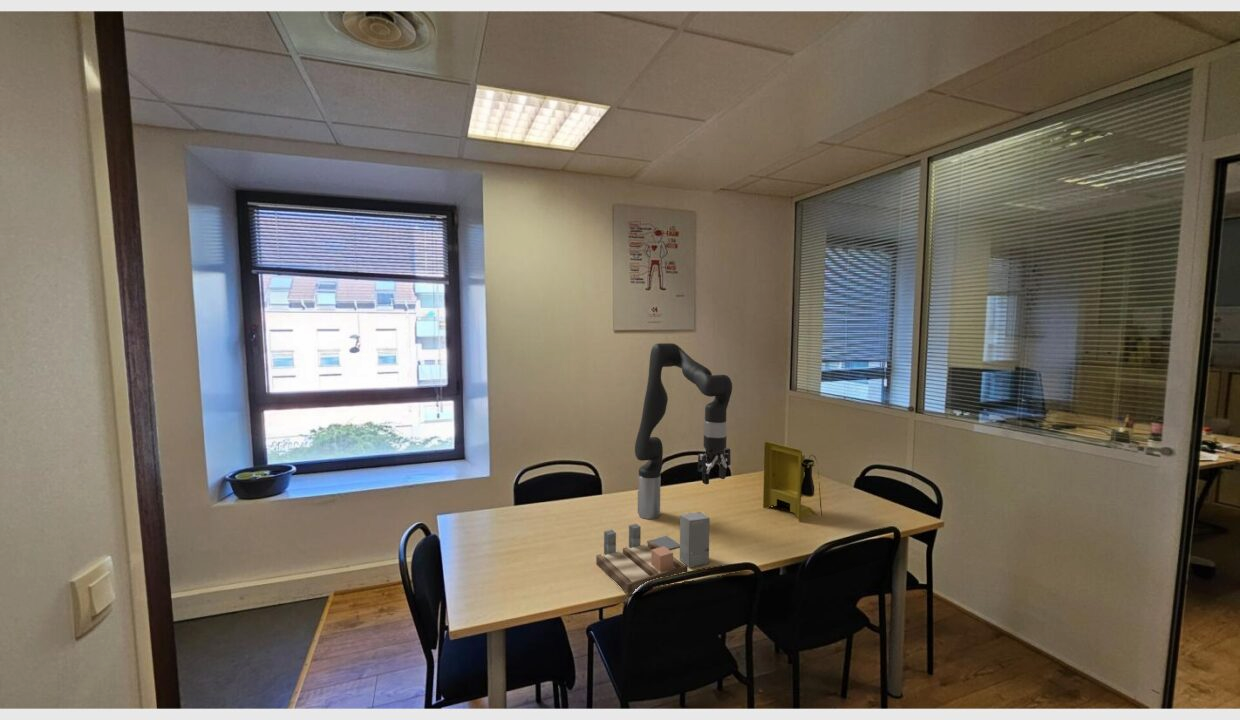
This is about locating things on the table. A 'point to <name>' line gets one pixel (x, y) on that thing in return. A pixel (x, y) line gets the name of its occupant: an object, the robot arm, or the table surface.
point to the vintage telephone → (787, 478)
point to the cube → (662, 558)
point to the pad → (665, 542)
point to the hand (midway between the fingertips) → (714, 481)
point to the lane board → (631, 586)
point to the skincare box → (694, 539)
